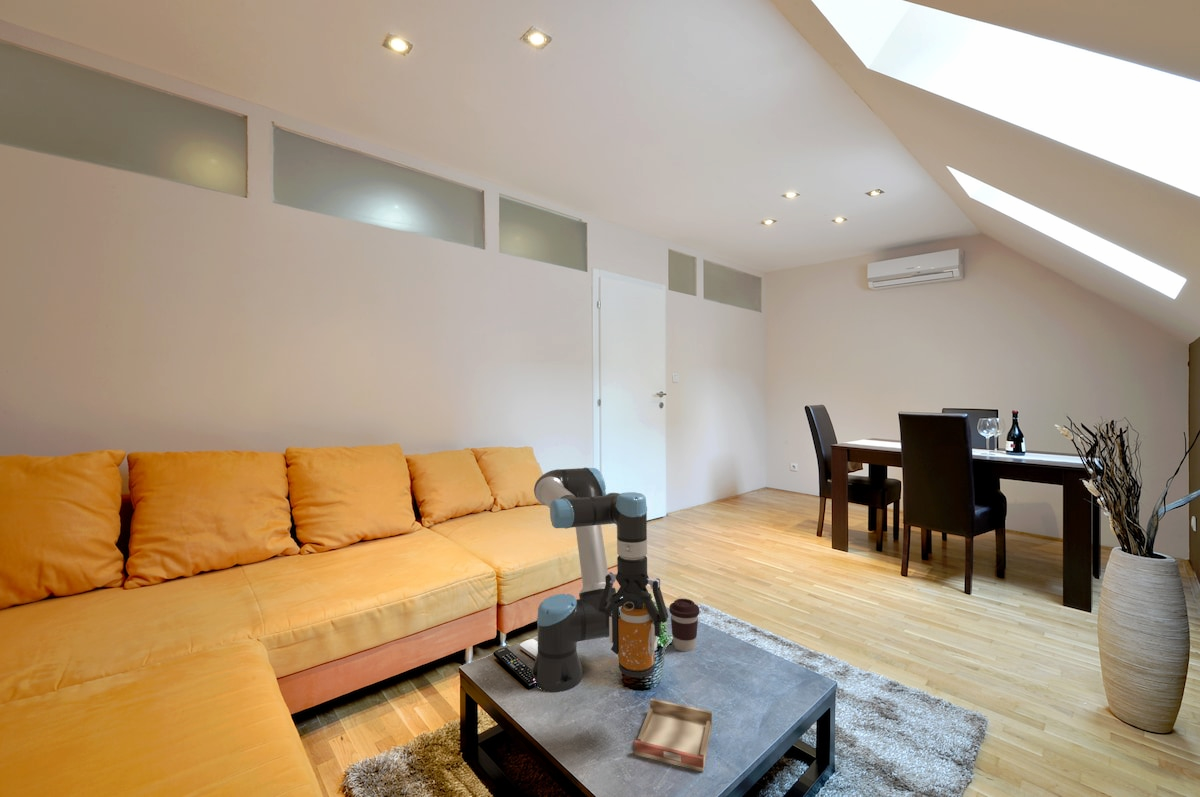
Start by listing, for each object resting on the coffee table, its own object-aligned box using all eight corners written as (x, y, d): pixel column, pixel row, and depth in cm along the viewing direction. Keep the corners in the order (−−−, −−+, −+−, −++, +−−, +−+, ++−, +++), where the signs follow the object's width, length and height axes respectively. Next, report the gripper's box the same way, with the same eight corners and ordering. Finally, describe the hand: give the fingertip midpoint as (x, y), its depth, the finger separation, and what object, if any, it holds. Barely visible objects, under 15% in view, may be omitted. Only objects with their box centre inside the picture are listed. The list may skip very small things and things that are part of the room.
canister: (651, 682, 115) (650, 598, 115) (606, 676, 118) (605, 594, 118) (657, 662, 124) (656, 584, 124) (615, 657, 127) (614, 581, 127)
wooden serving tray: (634, 755, 113) (634, 739, 113) (650, 713, 129) (650, 698, 129) (703, 773, 108) (703, 756, 108) (712, 726, 123) (711, 711, 123)
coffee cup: (701, 642, 165) (701, 598, 165) (696, 657, 156) (696, 611, 155) (673, 637, 168) (672, 594, 168) (666, 651, 159) (666, 606, 159)
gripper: (584, 555, 122) (585, 643, 122) (673, 565, 113) (674, 660, 113) (595, 546, 129) (596, 630, 129) (680, 556, 120) (681, 645, 120)
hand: (633, 644), depth 121 cm, fingers closed on canister, 10 cm apart
